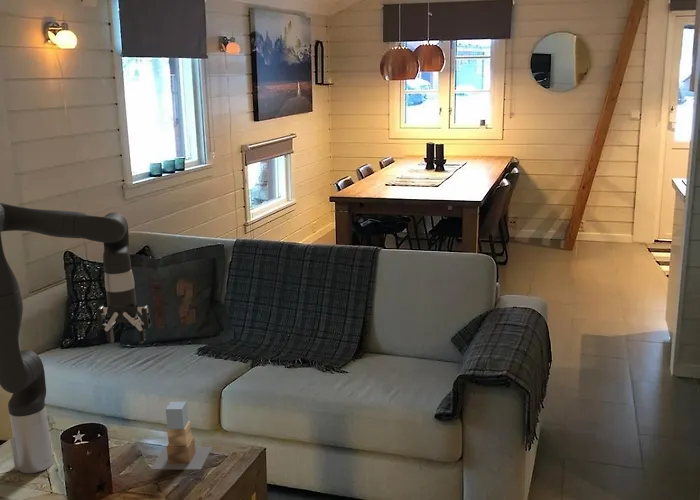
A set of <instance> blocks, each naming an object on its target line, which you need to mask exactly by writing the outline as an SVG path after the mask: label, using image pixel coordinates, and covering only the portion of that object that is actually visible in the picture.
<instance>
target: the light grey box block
mask: <svg viewBox="0 0 700 500" xmlns="http://www.w3.org/2000/svg"><path fill="white" fill-rule="evenodd" d="M165 415H166V424H167V425H166V426H167V427H166V428H167V429H184V428H185V427H186V425H187V423H188V421H189V414H188V403H187V401H170V402H169V404H168V405H167V406H166V408H165Z"/></svg>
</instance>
